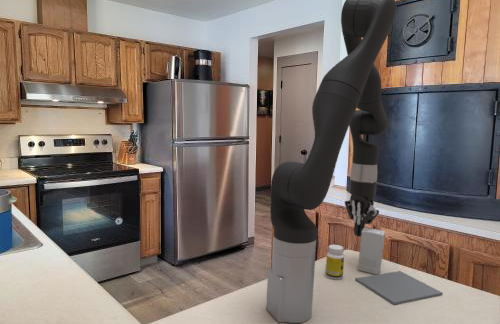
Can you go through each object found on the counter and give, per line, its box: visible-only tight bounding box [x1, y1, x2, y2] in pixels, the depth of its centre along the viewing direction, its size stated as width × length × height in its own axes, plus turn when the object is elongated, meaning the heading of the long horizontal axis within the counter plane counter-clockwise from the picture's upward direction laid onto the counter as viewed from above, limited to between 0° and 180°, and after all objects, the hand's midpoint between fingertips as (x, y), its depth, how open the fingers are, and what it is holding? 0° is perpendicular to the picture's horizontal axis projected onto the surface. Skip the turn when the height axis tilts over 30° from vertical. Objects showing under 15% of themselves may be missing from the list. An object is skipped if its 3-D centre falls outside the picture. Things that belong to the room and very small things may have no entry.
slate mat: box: [354, 270, 443, 306], centre depth 94 cm, size 16×14×1 cm
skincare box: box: [357, 226, 386, 275], centre depth 104 cm, size 6×4×12 cm
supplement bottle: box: [325, 244, 345, 280], centre depth 99 cm, size 5×5×8 cm
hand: (358, 235), depth 108 cm, fingers closed
